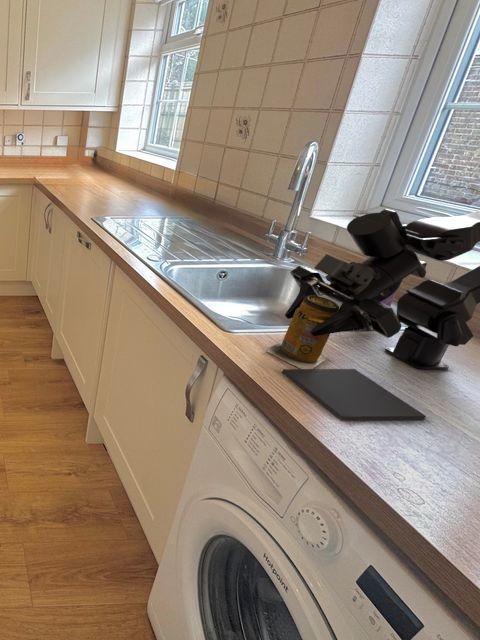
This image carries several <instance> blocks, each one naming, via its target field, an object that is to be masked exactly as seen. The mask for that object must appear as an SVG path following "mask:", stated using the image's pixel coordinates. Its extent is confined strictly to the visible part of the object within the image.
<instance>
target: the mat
mask: <svg viewBox="0 0 480 640" xmlns="http://www.w3.org/2000/svg"><path fill="white" fill-rule="evenodd" d="M281 373H282V374H283V376H285V377H286V378H287V379H288V380H290V381H291V382H293V383H294V384H295V385H296V386H297V387H298V388H300V389H302V391H303V392H305V393H306V394H308V396H310V397H311V398H312V399H314V400H315V401H316V402H317V403H318V404H320V405H321V406H322V407H323V408H325V409H326V410H327V411H328V412H330V414H332V415H333V416H334V417H335V418H337V419H338V420H339V421H341V422H349V421H351V422H352V421H356V422H357V421H361V422H362V421H424V420H425V419H426V417H427V415H426V414H424V413H423V412H421V411H419V410H418V409H417V408H415V407H413V406H411V404H409V403H407V402H406V401H404V400H403V399H401V398H400V397H398V396H396V395H395V394H394V393H393V392H391V391H389V390H387V389H386V388H385V387H383V386H382V385H379V384H378V383H377V382H375V381H374V380H373V379H371V378H370V377H368V376H367V375H365V374H364V373H362V372H360V371H358V370H357V369H356V368H313V369H301V368H283V369H282V370H281Z"/></svg>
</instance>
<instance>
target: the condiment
mask: <svg viewBox="0 0 480 640" xmlns="http://www.w3.org/2000/svg"><path fill="white" fill-rule="evenodd" d="M339 308H340V306H339V304H338V303H337V302H335V301H333V300H332V299H329V298H326V297H323V296H313V295H309V296H305V297H304V298H303V302H302V303H301V305H300V307H299V308H297V309H296V311H295V313H294V316H293V318H291V320H290V322H289V325H288V328H287V329H286V331H285V335H283V339H282V340H281V341H279V342H278V343H276V344H273V345H271V346H270V347H267V348H266V349H265V351H266V352H268V353H270V354H271V355H273V356H275V357H277V358H279V359H281V360H282V361H284V362H287V363H288V364H290V365H293V366H295V367H296V368H298V369H315V367H318V366H319V365H321V364H323V362H325V361H326V360H327V359H328V358H327V357H325V356H322V355H321V354H322V353H323V351H324V348H325V346H326V345H327V342H328V340H329V338H330V335H331V334H325V335H318V336H313V335H312V334H311V333H310V331H311V330H313V329H314V328H315V327H316V326H317V325H319V324H320V323H322V322H323V321H325V320H326V319H328V318H329V317H331V316H332V315H334V314H335V313H337V312H338V310H339Z"/></svg>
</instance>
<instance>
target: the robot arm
mask: <svg viewBox="0 0 480 640" xmlns="http://www.w3.org/2000/svg"><path fill="white" fill-rule="evenodd" d="M346 231H347V232H348V234H349V235H350V237H351V238H352V240H353V242H354V243H355V245H356V247H357V248H358V250H359V251H360V253H361V254H362V255H363V256H366V257H367V258H366V259H365V260H363V261H361V262H356V261H351V262H349V263H348V262H346V261H345V260H342V259H340V258H337V257H335V256H333V255H331V254H328V253H325V255H323V257H322V258H321V259H320V260H319V261H318V262H317V263H316V265H314V269H315V270H314V269H312V268H310V267H308V266H306V265H298V266H296V267H295V268H294V269H292V270H290V272H289V273H290V275H291V277H292V278H293V280H294V281H295V283H296V284H297V285H298V287H299V292H298V294H297V295H296V298H295V299H294V300H293V302H292V304H291V305H289V308H288V309H287V310H286V312H285V314H284V317H285V318H286V319H287V320H290V319H292V318H293V316H294V313H295V311H296V309H297V308H299V307H300V305H301V303H302V302H303V298H304V297H305V296H309V295H313V296H320V297H323V296H324V295H325V296H327V297H328V298H330V299H331V300H334V301H336V302H338V303H340V306H339V310H338V312H337V313H335V314H334V315H332V316H331V317H329V318H328V319H326V320H325V321H323V322H322V323H320V324H319V325H317V326H316V327H315V328H314V329H313V330H311V331H310V333H311V334H312V335H313V336H318V335H325V334H330V335H331V334H337V333H346V332H355V331H364V332H367V333H368V332H371V331H372V330H373V331H375V332H376V333H378V334H379V335H381V336H383V337H385V338H387V339H389V338H392V337H393V336H395V335H397V334H398V333H400V331H401V329H402V324H403V325H405V326H406V327H405V328H404V329H403V331H402V334H400V336H399V338H398V340H397V342H396V344H395V347H385V348H384V351H386V352H388V353H389V354H391V355H393V356H395V357H396V358H398V359H400V360H401V361H403V362H405V363H407V364H409V365H410V366H412V367H414V368H416V369H419V370H448V369H449V368H450V366H449V365H447V364H446V363H444V362H443V361H442V359H443V358H444V356H445V354H446V352H447V350H448V348H449V346H451V347H452V346H453V347H459V346H460V345H461V346H465V345H466V344H467V343H469V341H471V340H472V338H474V334H473V332H472V331H471V329H470V327H469V326H468V323H467V322H469V321H470V320H472V318H473V316H474V314H475V310H476V308H477V305H478V304H480V265H478V266H476V267H474V268H473V269H470V270H469V271H467V272H466V273H463V274H461V275H459V276H458V277H456V278H455V279H453V280H451V281H449V282H442V283H440V282H437V281H435V280H433V279H427V280H423V281H422V282H421V283H419V284H418V285H416V286H414V287H412V288H409V289H406V290H405V291H406V293H404V294H403V295H402V296H400V297H399V298H398V300H397V303H396V313H395V311H394V308H392V307H391V306H390V307H389V306H387V305H385V304H382V303H380V302H378V301H376V300H374V299H373V298H374V297H376V296H377V295H379V294H381V295H383V296H385V297H386V296H387V295H389V294H390V291H389V289H388V288H390V287H391V286H393V285H394V284H396V283H397V282H399V281H401V280H402V279H403V280H404V279H405V278H406V277H407V278H408V276H410V275H412V276H415V277H418V278H422V279H424V278H425V277H426V275H427V270H426V269H427V266H428V262H426V261H423V260H420V258H419V256H418V255H417V254H419V255H420V256H424V257H427V258H430V259H433V260H435V261H438V262H439V261H440V262H444V261H449V260H452V259H454V258H457V257H459V256H462V255H464V254H467V253H469V252H471V251H473V249H474V248H475V246H476V245H477V243H480V210H477V211H474V212H470V213H467V214H464V215H457V216H433V217H428V218H422V219H416V220H413V221H411V222H409V223H408V224H402V222H401V220H400V215H399V214H398V212H397V211H394V210H392V209H388V208H384V209H382V210H381V211H379V212H371V213H366V214H363V215H361V216H356V217H354V218H353V219H352V220H351V221H349V222H348V224H347V226H346ZM316 270H317V271H316ZM318 271H320V272H322V273H324V274H326V275H325V276H324V277H325V279H326V281H327V282H329V284H328V283H326V282H325V280H324V279H323V277H322V276H321V274H320V273H319V272H318ZM403 280H402V281H403Z"/></svg>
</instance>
